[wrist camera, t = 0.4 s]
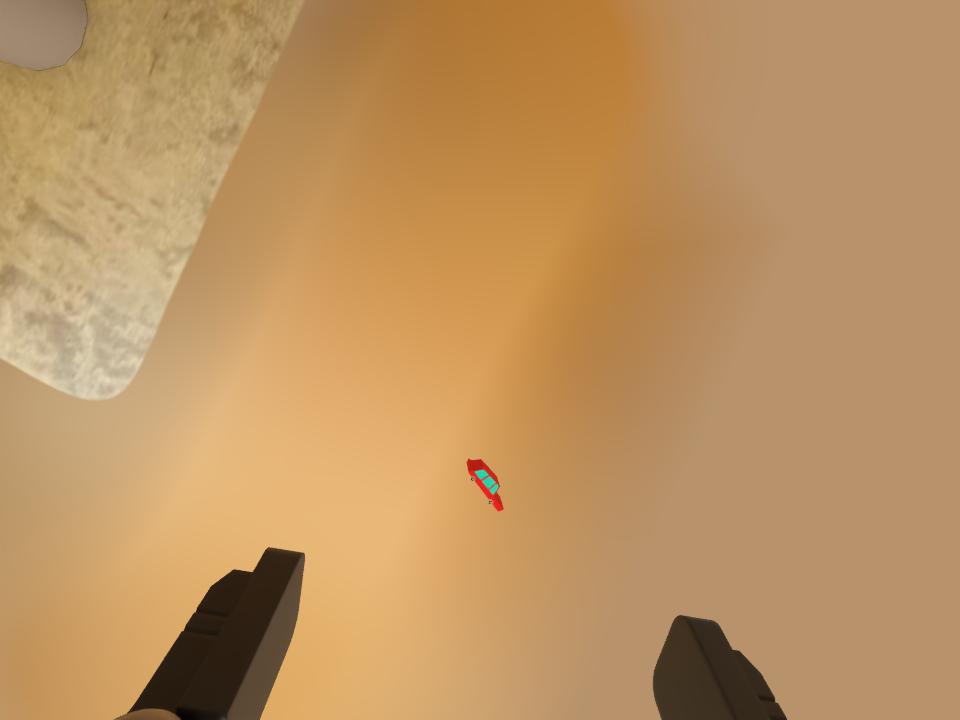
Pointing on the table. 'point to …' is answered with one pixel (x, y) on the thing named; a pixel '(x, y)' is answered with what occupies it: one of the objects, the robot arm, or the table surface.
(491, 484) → the toy car
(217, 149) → the table surface
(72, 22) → the cup
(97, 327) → the table surface
